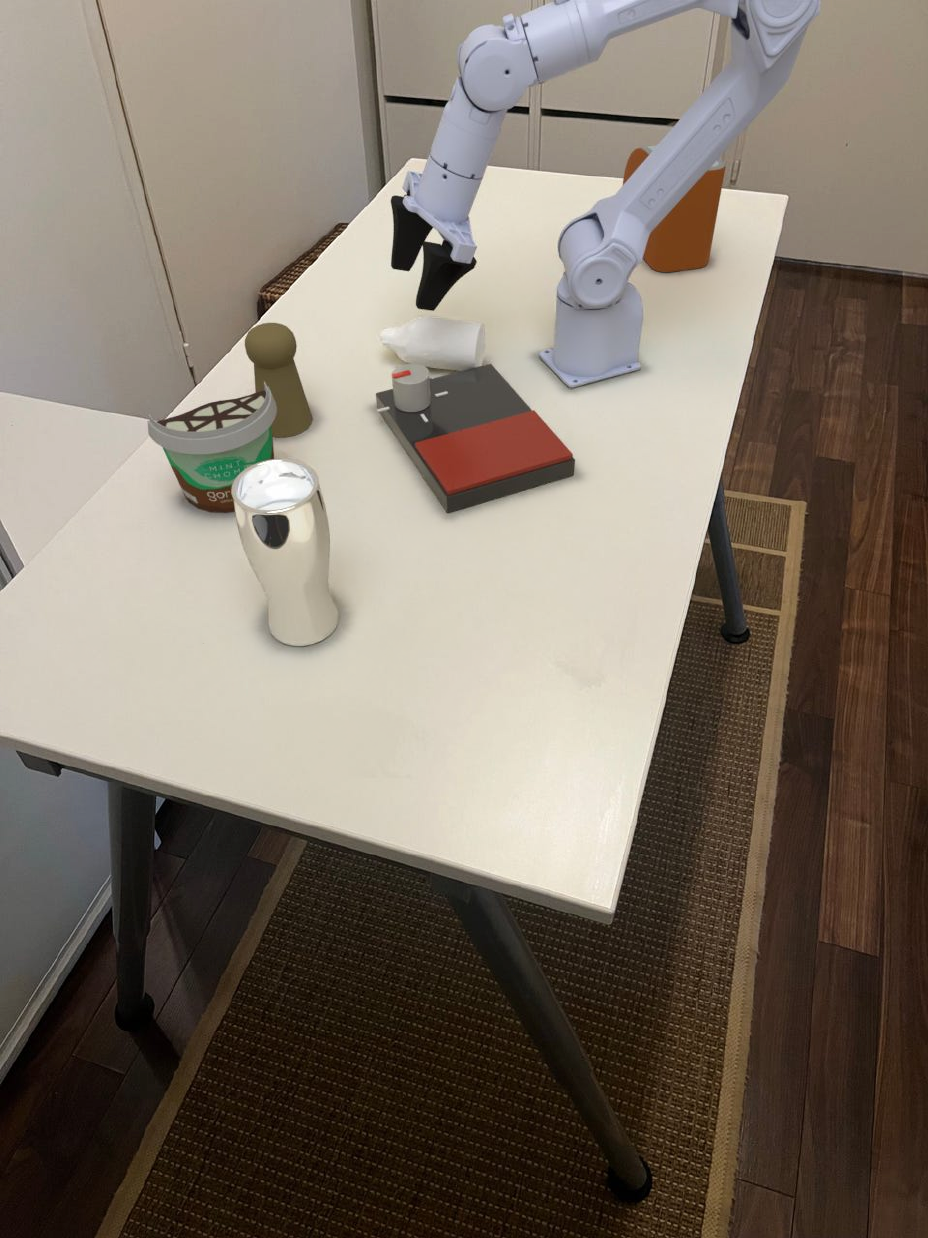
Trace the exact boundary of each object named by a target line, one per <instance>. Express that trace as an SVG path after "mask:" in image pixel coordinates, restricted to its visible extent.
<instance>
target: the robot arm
mask: <svg viewBox="0 0 928 1238" xmlns="http://www.w3.org/2000/svg"><path fill="white" fill-rule="evenodd" d="M694 9H702V10H704V11H707V12H711V13H714V14H717V15H720V16H724V17H727V18H729V19H730V59H729V61H728V63H727V64H726V65H725V66H724V67H723V68H722V70H721V71H720V72H719V73H718V74H717V76H715V78H714V79H713V80H712V82H710V83H709V85H708V86H707V87H706V88H705V89H704V90H703V92H701V94H700V95H699V96H698V97H697V99H695V101H694V102H693V104H691V105H690V107H689V108H688V109H687V110H686V112H684V113H683V114H682V116H681V117H680V118H679V120H678V121H677V122H676V123H675V125H673V127H672V128H671V129H670V130H669V131H668V133H667V134H666V135H665V136H664V137H663V138H662V139H661V140H660V142H658V144H657V145H656V146H657V147H656V148H655V149H654V150H653V151H652V152H651V153H650V155H649V156H648V157H647V158H646V159H645V160H644V162H643V163H642V164H641V165H640V166H639V167H638V169H637V170H636V171H635V172H634V173H633V174H632V176H631V177H630V178H629V179H628V180H627V181H626V183H625V184H624V185H623V184H622V186H621V187H620V188H619V189H618V190H617V192H616V193H615V194H614V195H611V196H608V197H605V198H602V199H599V200H598V201H596V202H595V204H593V206H592V207H591V208H590V209H589V210H588V211H587V212H585V213H584V214H582V215H580V216H577V217H575V218H573V219H572V220H570V221H569V222H568V223H567V224H565V226H564V227H563V229H562V230H561V232H560V234H559V236H558V240H557V253H558V256H559V259H560V261H561V262H562V265H563V268H564V272H563V274H562V277H561V279H560V280H559V281H558V283H557V286H556V299H555V315H554V316H555V318H554V332H553V333H554V335H553V348H549V349H545V350H542V351H539V353H538V357H539V358H540V359H541V360H542V361H543V362H544V363H545V364H546V365H547V366H548V367H549V368H550V370H551V371H552V372H553V373H554V374H555V375H556V376H557V377H558V378H559V379H560V380H561V381H562V382H563V383H564V384H565V385H566V386H567V387H568V388H576V387H580V386H584V385H587V384H591V383H595V382H598V381H603V380H606V379H609V378H613V377H616V376H620V375H624V374H627V373H631V372H635V371H639V370H640V369H642V368H641V367H642V365H641V363H640V362H639V353H640V346H641V337H642V331H643V323H644V306H643V301H642V298H641V294H640V293H639V290H638V289H637V288H636V286H635V285H634V284H633V283H631V282H629V281H630V277H631V275H632V273H633V272H634V271H635V270H636V268H637V267H638V266H639V265H640V264H641V263H642V260H643V255H644V252H645V248H646V245H647V241H648V238H649V235H650V233H651V232H652V231H653V230H654V228H655V227H656V226H657V225H658V224H659V223H660V222H661V221H662V220H663V219H664V218H665V216H666V215H667V214H668V213H669V212H670V211H671V210H672V209H673V208H674V207H675V205H676V204H677V203H678V202H679V201H680V200H681V199H682V198H683V197H684V196H685V194H686V193H687V192H688V191H689V190H690V189H691V188H692V187H693V186H694V185H695V183H696V182H697V181H698V180H699V179H700V178H701V177H702V176H703V175H704V174H705V173H706V171H707V170H708V169H709V168H710V167H711V166H712V165H713V164H714V163H715V162H716V160H717V159H718V158H721V156H722V155H723V154H724V153H725V152H726V151H727V150H728V148H730V146H731V145H732V144H734V142H735V141H736V140H737V139H738V137H740V136H741V134H742V133H743V132H744V131H745V130H746V129H747V128H748V127H749V125H750V124H752V123H753V121H754V120H755V119H756V118H757V117H758V115H760V113H761V112H762V111H763V110H764V109H765V108H766V107H767V106H768V104H770V103H771V102H772V100H773V99H775V97H776V96H777V95H778V94H779V92H780V91H781V90H782V89H783V88H784V86H785V85H786V84H787V82H788V81H789V79H790V77H791V74H792V71H793V68H794V66H795V63H796V60H797V58H798V55H799V53H800V50H801V47H802V44H803V42H804V40H805V37H806V33H807V30H808V28H809V26H810V24H811V23H812V22H813V21H814V20H815V19H816V18H817V17H818V15H819V14H820V13H821V0H552V1H551V2H549V3H546V4H543V5H541V6H539V7H536V8H535V9H532V10H530V11H528V12H525V13H523V14H521V15H519V16H516V17H515V16H514V14H513V13H512V12H511V13H508V14H507V15H504V16H503V17H502V19H501V20H502V23H503V26H501V25H495V24H492V23H489V24H483V25H481V26H479V27H476V28H475V29H473V30H472V31H471V32H470V33H469V34H468V35H467V38H466V39H464V40H463V43H461V44H459V46H458V49H457V58H456V59H457V68H458V71H459V74H460V75H458V76H456V78H455V82H454V84H453V86H452V88H451V90H450V93H449V99H448V101H447V102H446V104H445V106H444V107H443V112H442V115H441V117H440V120H439V124H438V126H437V130H436V133H435V134H434V138H433V141H432V144H431V148H430V150H429V153H428V157H427V159H426V162H425V165H424V168H423V171H422V173H421V172H416V171H412V170H407V172H406V175H405V178H404V182H403V185H402V190H403V191H404V193H406V194H404V195H403V196H402V195H401V196H400V195H397V194H396V195H392V196H391V198H390V205H391V212H392V222H393V223H392V224H393V235H392V246H391V256H390V257H391V258H390V259H391V260H390V267H391V269H392V270H397V271H403V272H410V271H411V269H412V268H413V266H414V265H415V263H416V260H417V258H418V256H419V254H420V251H421V249H422V253H423V263H422V264H423V265H422V272H421V277H420V281H419V284H418V289H417V293H416V298H415V307H416V308H417V309H418V310H425V311H432V312H435V310H436V309H437V307H439V305H440V304H441V302H442V301H443V299H444V298H445V297H446V295H447V294H448V293H449V292H450V290H451V289H452V288H453V287H454V285H455V284H456V283H457V282H458V281H459V280H461V279H462V278H463V277H464V276H465V275H466V274H468V273H469V272H471V271H473V270H474V269H475V268H476V265H477V263H478V262H477V259H476V257H475V253H476V251H477V248H478V246H477V244H476V242H475V241H474V238H473V234H472V233H473V232H472V226H471V221H470V212H471V210H472V207H473V205H474V202H475V199H476V197H477V195H478V191H479V189H480V186H481V184H482V182H483V179H484V176H485V173H486V170H487V168H488V165H489V163H490V161H491V157H492V155H493V153H494V149H495V147H496V144H497V142H498V140H499V137H500V134H501V130H502V125H503V123H504V120H505V117H506V115H507V112H508V110H511V109H512V108H514V107H515V106H516V105H517V104H518V103H519V102H520V101H521V99H522V97H523V96H524V94H525V92H526V90H527V89H528V88H535V87H537V86H540V85H543V84H545V83H547V82H550V81H552V80H555V79H556V78H559V77H562V76H563V75H566V74H568V73H571V72H573V71H575V70H578V69H581V68H584V67H585V66H588V65H590V64H592V63H594V62H597V61H599V59H600V58H601V56H602V55H603V52H604V50H605V49H606V46H607V45H608V44H609V41H610V40H611V39H615V38H617V37H619V36H623V35H625V34H628V33H631V32H634V31H637V30H639V29H641V28H642V29H643V28H645V27H647V26H650V25H652V24H655V23H658V22H661V21H663V20H666V19H667V20H668V19H669V18H672V17H675V16H677V15H680V14H683V13H685V12H689V11H690V10H694ZM433 229H434V230H435V231H437V233H438V234H439V236H440V237H441V239H442V243H437V242H431V241H426V239H427V238H428V237H429V235H430V233H431V232H432V230H433Z"/></svg>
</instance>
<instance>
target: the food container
mask: <svg viewBox="0 0 928 1238" xmlns="http://www.w3.org/2000/svg"><path fill="white" fill-rule="evenodd" d="M276 412H277V406H276V402H275V400H274V398H273V395H272V393H271V391H270V389H269V387H267V385H266V383H265V381H264V391H261V392H254V393H251V394H248V395H244V396H241V397H237V398H231V399H222V400H217V401H210V402H208V403H205V404H203V405H200V406H197V407H196V408H193V409H192V410H189V411H186V412H184V413H181V414H178V415H174V416H171V417H167V418H165V419H161V420H157V421H156V420H155V419H154V418H153V417H152V416H151V414H150V413H148V419H149V420H147V432H148V436H149V437H150V439H151V440H152V441H154V443H156V444H157V445H158V446H160V447H161V448H162V449H163V452H164V454H165V457H166V458H167V460H168V463H169V466H170V467H171V469H172V472H173V474H174V476H175V479H176V480H177V482H178V485H179V487H180V489H181V492H182V493H183V495H184V497H185V500H187V502H188V503H189V504H191V505H192V506H194V507H195V508H197V509H198V510H202V511H206V512H208V513H219V514H228V513H229V514H230V513H235V508H234V501H233V497H232V493H231V489H232V484H233V482H234V480H235V479H236V477H237V476H238V475H239V474H240V473H241V472H242V471H244V470H245V469H246V468H248V467H250V466H252V465H254V464H256V463H259V462H262V461H266V460H271V459H275V453H274V452H275V451H274V439H273V438H274V437H272V426H271V424H272V423H273V421H274V419H275V416H276Z"/></svg>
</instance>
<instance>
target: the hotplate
mask: <svg viewBox="0 0 928 1238" xmlns="http://www.w3.org/2000/svg"><path fill="white" fill-rule="evenodd" d="M415 448H416V449H417V451H418V452H419V454H420V455H421V457H422V458H423V460H424V461H425V463H426V464H427V466H428V467H429V468H430V470H431V471H432V473H433V474H434V476H435V477H436V479H437V480H438V482H439V483H440V484H441V486H442V487H443V489H444V490H445V492H446V493H447V495H451V494H455V493H458V492H461V491H465V490H468V489H472V488H475V487H478V486H482V485H485V484H489V483H492V482H495V481H499V480H502V479H506V478H509V477H512V476H516V475H519V474H523V473H526V472H529V471H533V470H536V469H540V468H543V467H547V466H550V465H553V464H557V463H560V462H564V461H567V460H570V459H573V458H574V453H572V451H571V450H570V449H569V448H568V447H567V446H566V445H565V444H564V442H563V441H562V440H561V439H560V437H558V436H557V434H556V433H555V432H554V431H553V430H552V429H551V427H549V425H548V424H547V423H546V422H545V420H543V418H542V417H541V416H540V415H539V413H537V411H536V410H534V409H533V410H532V411H529V412H525V413H522V414H518V415H515V416H511V417H507V418H504V419H500V420H496V421H493V422H489V423H485V424H482V425H478V426H474V427H471V428H467V429H464V430H460V431H456V432H453V433H449V434H445V435H442V436H438V437H434V438H431V439H427V440H423V441H420V442H416V443H415Z"/></svg>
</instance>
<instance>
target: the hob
mask: <svg viewBox="0 0 928 1238" xmlns="http://www.w3.org/2000/svg"><path fill="white" fill-rule="evenodd" d="M430 392H431V403H430V405H429V406H428V407H427V408H426V409H424V410H422V411H418V412H404V411H401V410H399V409H398V408H396V406H395V405H394V397H393V388H389V389H385V390H382V391H379V392H375V400H376V408H377V409H376V413H380V415H381V416H382V418H383V419H384V421H385V422H386V424H387V425H388V427H389V428H390V430H391V431H392V433H393V434H394V437H396V439H397V440H398V441H399V443H400V444H401V447H403V449H404V451H405V453H406V454H407V455H408V457H409V458H410V460H411V461H412V463H413V464H414V466H415V467H416V469H417V470H418V472H419V473H420V474H421V476H422V477H423V479H424V480H425V482H426V483H427V484H428V486H429V488H430V489H431V491H432V492H433V494H434V495H435V498H437V500H438V501H439V503H440V504H441V506H442V507H443V509H444V510H445V512H446V513H447V514H450V513H453V512H456V511H459V510H463V509H467V508H469V507H474V506H477V505H480V504H484V503H486V502H490V501H494V500H496V499H500V498H503V497H506V496H511V495H513V494H516V493H520V492H524V491H526V490H530V489H534V488H536V487H540V486H543V485H547V484H550V483H553V482H557V481H560V480H563V479H567V478H570V477H573V476H575V468H576V459H575V457H573V459H570V460H567V461H564V462H560V463H557V464H553V465H550V466H547V467H543V468H540V469H536V470H533V471H529V472H526V473H523V474H519V475H516V476H512V477H509V478H506V479H502V480H499V481H495V482H492V483H489V484H485V485H482V486H478V487H475V488H472V489H468V490H465V491H461V492H458V493H455V494H451V495H447V493H446V492H445V490H444V489H443V487H442V486H441V484H440V483H439V482H438V480H437V479H436V477H435V476H434V474H433V473H432V471H431V470H430V468H429V467H428V466H427V464H426V463H425V461H424V460H423V458H422V457H421V455H420V454H419V452H418V451H417V449H416V448H415V443H416V442H420V441H423V440H427V439H431V438H434V437H438V436H442V435H445V434H449V433H453V432H456V431H460V430H464V429H467V428H471V427H474V426H478V425H482V424H485V423H489V422H493V421H496V420H500V419H504V418H507V417H511V416H515V415H518V414H522V413H525V412H529V411H533V410H532V408H531V407H530V406H529V405H528V404H527V403H526V401H524V399H523V398H522V397H521V396H520V394H518V393H517V391H516V390H515V389H514V388H513V387H512V386H511V385H510V384H509V382H508V381H507V380H506V379H505V377H504V376H502V374H501V373H500V372H499V371H498V370H497V368H496V367H495V366H494V365H493V364H492V363H488V364H487V363H486V364H484V365H483V364H482V366H479V367H476V368H472V369H468V370H464V371H456V372H452V373H449V374H445V375H441V376H437V377H433V378H430Z"/></svg>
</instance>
